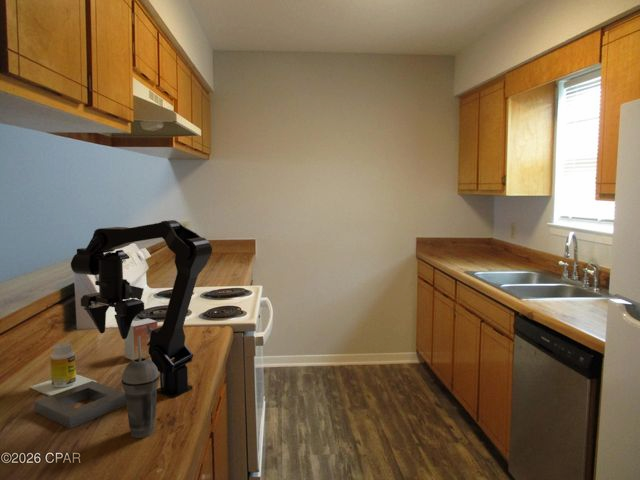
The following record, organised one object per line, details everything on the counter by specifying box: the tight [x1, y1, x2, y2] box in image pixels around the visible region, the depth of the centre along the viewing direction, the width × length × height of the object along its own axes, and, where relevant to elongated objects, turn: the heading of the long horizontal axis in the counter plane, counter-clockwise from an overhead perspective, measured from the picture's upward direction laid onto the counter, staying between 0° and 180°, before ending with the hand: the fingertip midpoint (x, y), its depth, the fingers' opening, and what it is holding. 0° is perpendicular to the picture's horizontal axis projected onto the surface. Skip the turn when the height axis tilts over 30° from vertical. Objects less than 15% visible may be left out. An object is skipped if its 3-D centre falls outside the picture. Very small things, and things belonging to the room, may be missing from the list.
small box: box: [123, 317, 158, 361], centre depth 145 cm, size 8×6×10 cm
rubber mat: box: [30, 373, 98, 397], centre depth 123 cm, size 11×11×1 cm
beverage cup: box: [120, 336, 160, 439], centre depth 99 cm, size 7×7×20 cm
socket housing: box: [33, 380, 127, 429], centre depth 111 cm, size 14×14×2 cm
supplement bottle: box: [49, 342, 77, 388], centre depth 123 cm, size 6×6×10 cm
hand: (113, 335), depth 126 cm, fingers open, 9 cm apart
